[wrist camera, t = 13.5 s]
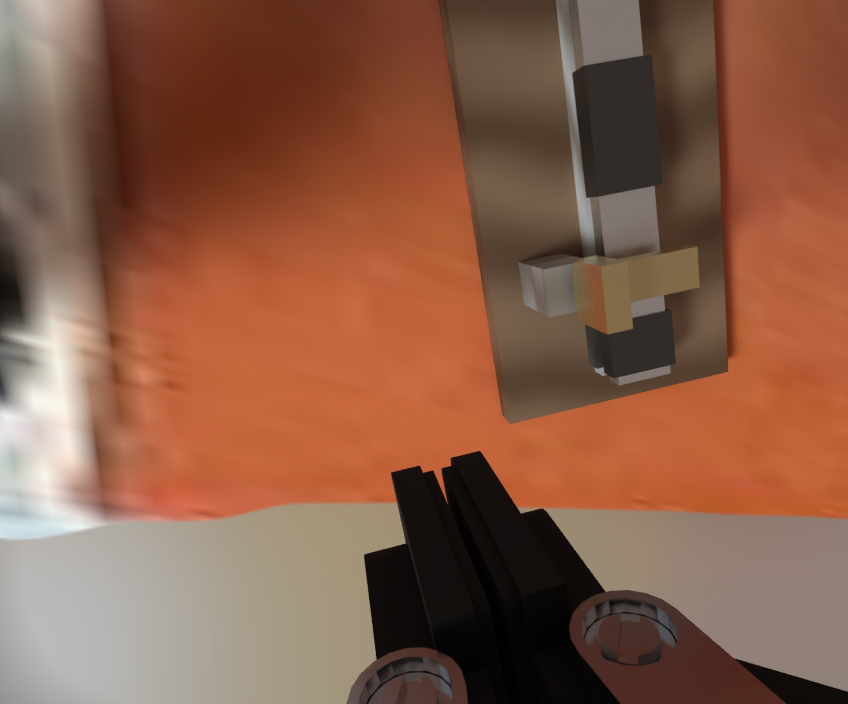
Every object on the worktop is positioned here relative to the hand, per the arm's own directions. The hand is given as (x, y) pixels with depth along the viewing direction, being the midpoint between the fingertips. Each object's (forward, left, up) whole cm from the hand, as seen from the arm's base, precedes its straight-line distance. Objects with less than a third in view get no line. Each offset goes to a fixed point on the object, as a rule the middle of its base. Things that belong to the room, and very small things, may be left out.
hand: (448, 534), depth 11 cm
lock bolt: (+13, 0, -17) cm, 22 cm away
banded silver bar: (+14, +7, -20) cm, 25 cm away
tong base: (+14, +8, -23) cm, 28 cm away
